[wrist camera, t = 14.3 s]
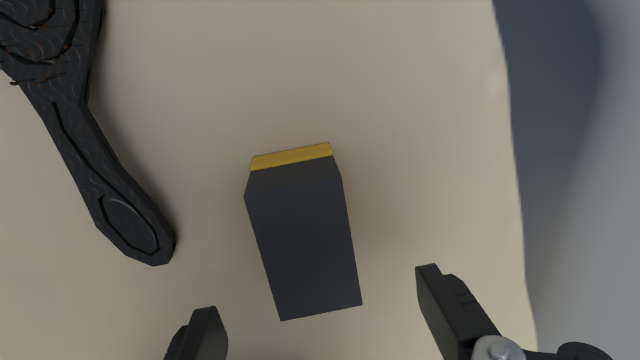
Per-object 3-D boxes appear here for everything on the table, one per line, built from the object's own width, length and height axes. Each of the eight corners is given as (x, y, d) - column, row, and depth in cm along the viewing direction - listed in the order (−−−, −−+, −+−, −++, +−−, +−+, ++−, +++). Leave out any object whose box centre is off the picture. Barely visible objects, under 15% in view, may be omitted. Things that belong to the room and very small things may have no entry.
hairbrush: (79, 306, 19) (-467, -415, 8) (109, 264, 22) (-252, -290, 12) (220, 270, 19) (-145, -505, 8) (229, 233, 22) (-22, -354, 12)
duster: (348, 254, 23) (363, 308, 18) (283, 267, 23) (281, 324, 18) (328, 141, 20) (340, 172, 15) (253, 156, 20) (241, 192, 15)
